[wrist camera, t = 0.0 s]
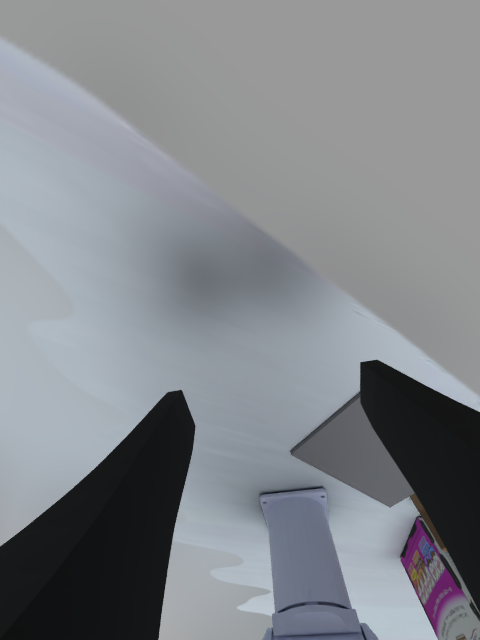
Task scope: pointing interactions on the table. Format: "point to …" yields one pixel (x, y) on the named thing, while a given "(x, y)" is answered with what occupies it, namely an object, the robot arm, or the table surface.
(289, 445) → the table surface
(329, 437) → the mat
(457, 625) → the candy bar box
